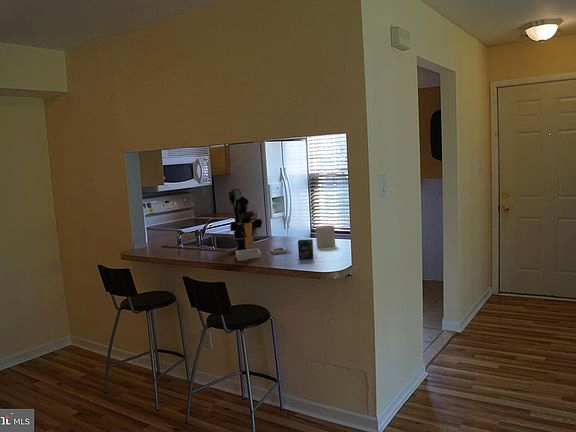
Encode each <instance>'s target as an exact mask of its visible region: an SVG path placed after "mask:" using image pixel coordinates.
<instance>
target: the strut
mask: <svg viewBox="0 0 576 432" xmlns="http://www.w3.org/2000/svg"><path fill="white" fill-rule="evenodd" d="M244 229H245V235H246V237H245V245H246V248H253V247H254V239H253V237H254V236H253V235H252V223H244Z"/></svg>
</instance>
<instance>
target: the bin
mask: <svg viewBox="0 0 576 432" xmlns="http://www.w3.org/2000/svg"><path fill="white" fill-rule="evenodd" d="M235 258H236V260H237V262H239V261H241V262H246V261H249V260H251V259H259V258H260V259H261V258H262V252H261V251H260V249H259V248H250V249H248V248H247V249H246V250H235ZM239 263H240V262H239Z"/></svg>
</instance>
